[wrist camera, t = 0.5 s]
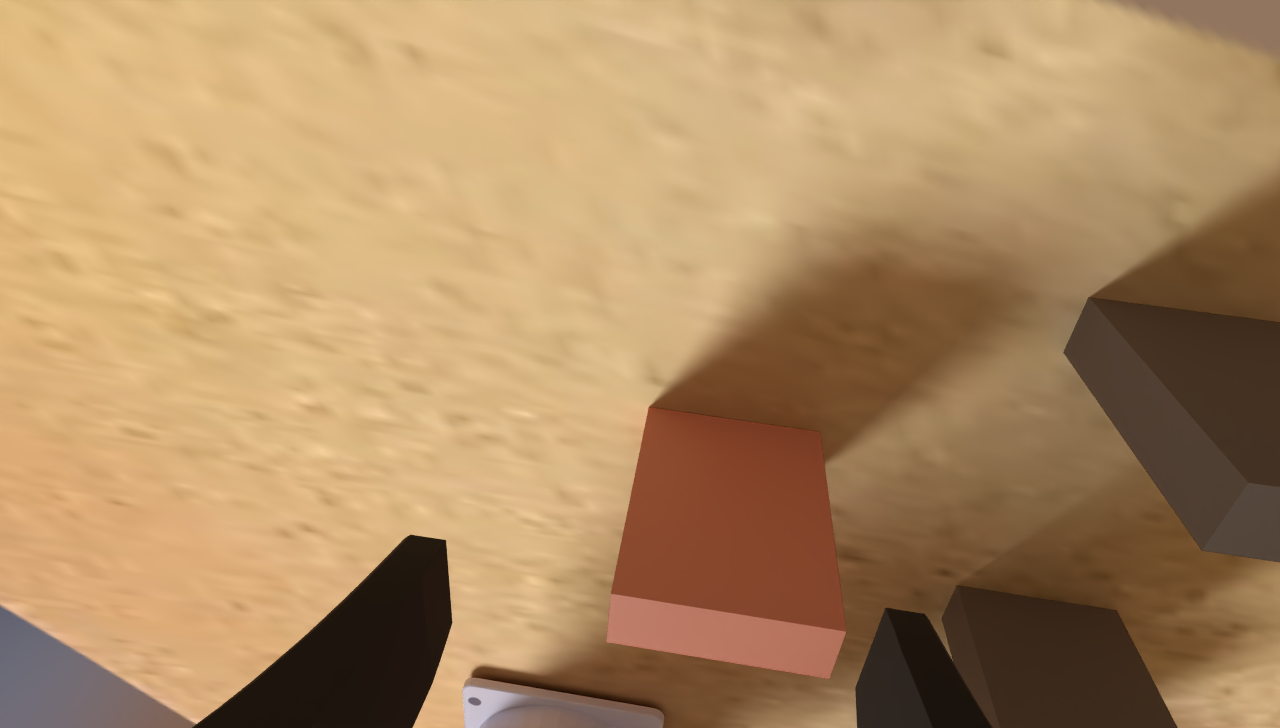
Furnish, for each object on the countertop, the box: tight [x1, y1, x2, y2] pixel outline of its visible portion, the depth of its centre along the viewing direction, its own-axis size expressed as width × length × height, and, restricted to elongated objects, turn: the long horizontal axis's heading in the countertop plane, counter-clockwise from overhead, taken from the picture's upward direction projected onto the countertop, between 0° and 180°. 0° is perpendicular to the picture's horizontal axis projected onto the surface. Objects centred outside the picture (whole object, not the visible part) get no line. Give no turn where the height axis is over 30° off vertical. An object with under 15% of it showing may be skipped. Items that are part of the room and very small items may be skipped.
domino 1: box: [606, 407, 846, 679], centre depth 19 cm, size 2×5×7 cm, turn 85°
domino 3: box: [1063, 298, 1280, 562], centre depth 16 cm, size 2×5×7 cm, turn 85°
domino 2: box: [942, 586, 1177, 728], centre depth 21 cm, size 2×5×7 cm, turn 85°
